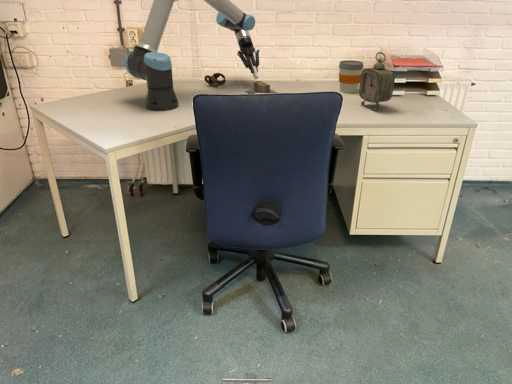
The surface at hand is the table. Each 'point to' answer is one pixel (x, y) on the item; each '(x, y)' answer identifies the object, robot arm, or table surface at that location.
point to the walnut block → (261, 87)
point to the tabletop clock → (376, 83)
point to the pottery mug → (215, 79)
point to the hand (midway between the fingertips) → (256, 77)
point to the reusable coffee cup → (350, 75)
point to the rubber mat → (257, 92)
